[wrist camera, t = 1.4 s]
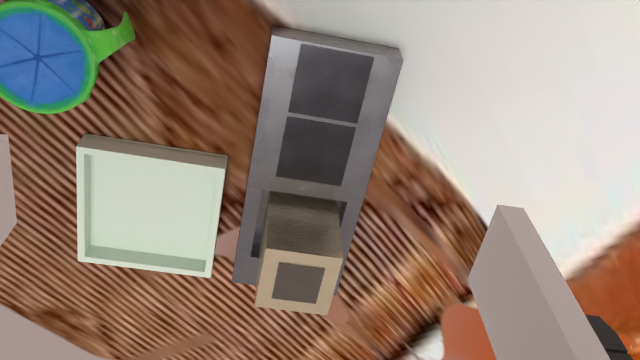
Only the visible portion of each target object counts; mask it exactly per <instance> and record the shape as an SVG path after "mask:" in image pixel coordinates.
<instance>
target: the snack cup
mask: <svg viewBox="0 0 640 360" xmlns="http://www.w3.org/2000/svg"><path fill="white" fill-rule="evenodd" d="M134 39H135V33H134V29H133V27H132V24H131V22H130V19H129V17H128V14H127V12H123V17H122V20H121V23H120V24H119V26H117V27H114V28H109V29H106V30H105V26H104V22H103V20H102V17H101V16H100V15H99V14H98V13H97V11H96V10H95V9H94V8H93V6H92V5H90V4H89V3H88V2H87V1H85V0H9V1H6V2H3V3H1V4H0V96H1V97H2V98H4V99H5V100H6V101H8V102H10V103H11V104H13V105H15V106H17V107H20V108H22V109H25V110H27V111H30V112H35V113H44V114H53V113H60V112H64V111H67V110H69V109H71V108H73V107H75V106H77V105H78V104H80V103H83V102H85V101H86V100H87V99H88V98H89V97H90V94H91V90H92V88H93V87H94V85H95V83H96V80H97V76H98V70H99V63H100V62H101V61H102V60H104V59H105V58H107V57H108V56H109V55H111V54H112V53H114V52H115V51H117V50H118V49H120V48H121V47H122V46H124V45H125V44H127V43H128V42H130V41H132V40H134Z"/></svg>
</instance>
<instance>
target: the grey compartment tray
mask: <svg viewBox="0 0 640 360" xmlns="http://www.w3.org/2000/svg"><path fill="white" fill-rule="evenodd" d="M402 63H403V58H402V56H401V54H400V51H399V49H397V48H392V47H386V46H381V45H376V44H370V43H365V42H360V41H354V40H349V39H344V38H338V37H333V36H328V35H322V34H317V33H312V32H306V31H301V30H296V29H290V28H285V27H280V26H274V25H273V27H272V34H271V40H270V46H269V52H268V58H267V65H266V71H265V77H264V83H263V89H262V95H261V102H260V108H259V114H258V120H257V126H256V132H255V139H254V145H253V151H252V157H251V163H250V170H249V176H248V182H247V188H246V194H245V200H244V207H243V213H242V219H241V225H240V231H239V237H238V244H237V250H236V256H235V262H234V269H233V276H232V282H235V283H243V284H250V285H256V283H257V271H258V259H259V247H260V237H261V232H262V226H263V221H264V215H265V210H266V205H267V199H268V194H269V190H270V191H277V192H283V193H290V194H297V195H304V196H310V197H317V198H324V199H330V200H337V205H338V214H339V224H340V233H341V242H342V252H343V262H342V265H341V269H340V272H339V276H338V279H337V283H336V286H335V290H334V293H333V295H336V293H337V290H338V286H339V283H340V279H341V276H342V272H343V269H344V265H345V262H346V258H347V255H348V251H349V248H350V244H351V241H352V237H353V234H354V230H355V227H356V223H357V220H358V216H359V213H360V209H361V206H362V202H363V199H364V195H365V192H366V188H367V185H368V181H369V178H370V174H371V171H372V167H373V164H374V160H375V157H376V153H377V150H378V146H379V143H380V139H381V136H382V132H383V129H384V125H385V122H386V118H387V115H388V111H389V108H390V104H391V101H392V97H393V94H394V91H395V87H396V84H397V80H398V77H399V73H400V70H401V66H402Z"/></svg>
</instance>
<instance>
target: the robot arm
mask: <svg viewBox="0 0 640 360" xmlns="http://www.w3.org/2000/svg"><path fill="white" fill-rule="evenodd" d="M16 223H17V219H16V209H15V199H14V189H13V179H12V169H11V159H10V149H9V139H8V135H3V134H0V246H1V244H2V243H3V242H4V240H5V239H6V237H7V236H8V234H9V233H10V232H11V230H12V229H13V227H14V226H15V225H16ZM468 282H469V285H470V287H471V290H472V293H473V296H474V298H475V301H476V304H477V307H478V309H479V312H480V315H481V318H482V320H483V323H484V326H485V328H486V331H487V334H488V337H489V340H490V342H491V345H492V348H493V351H494V353H495V356H496V359H497V360H633V359H632V357H631V356H630V355H629V354H627V349H626V348H625V346H624V345H623V343H622V341H621V340H620V338H619V336H618V335H617V333H616V332H615V331H614V330H613V329H612V328H611V327H609V326H608V325H607V324H606V323H605V322H604V321H603V320H602V319H601V318H600V317H599V316H591V315H585V314H584V313H583V311H582V309H581V308H580V306H579V304H578V302H577V301H576V299H575V297H574V295H573V294H572V292H571V290H570V288H569V287H568V285H567V283H566V281H565V280H564V278H563V276H562V274H561V273H560V271H559V269H558V268H557V266H556V264H555V262H554V261H553V259H552V257H551V255H550V254H549V252H548V250H547V248H546V247H545V245H544V243H543V241H542V240H541V238H540V236H539V234H538V233H537V231H536V229H535V228H534V226H533V224H532V222H531V221H530V219H529V217H528V215H527V214H526V212H525V210H524V208H518V207H511V206H504V205H497V208H496V210H495V213H494V215H493V217H492V220H491V222H490V225H489V227H488V230H487V232H486V235H485V237H484V240H483V242H482V245H481V247H480V250H479V252H478V255H477V257H476V260H475V262H474V265H473V267H472V270H471V272H470V275H469V277H468Z"/></svg>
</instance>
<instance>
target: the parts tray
mask: <svg viewBox="0 0 640 360" xmlns="http://www.w3.org/2000/svg"><path fill="white" fill-rule="evenodd" d="M227 160H228V156H227V155H221V154H214V153H208V152H201V151H195V150H188V149H182V148H176V147H169V146H163V145H156V144H150V143H144V142H137V141H131V140H124V139H118V138H112V137H105V136H99V135H92V134H86V133H85V134H84V136H83V137H82V139H81V140H80V142H79V143H78V145H77V146H76V163H77V236H78V261H82V262H90V263H97V264H105V265H113V266H121V267H129V268H137V269H144V270H152V271H160V272H168V273H176V274H183V275H191V276H199V277H207V278H211V273H212V267H213V262H214V254H215V247H216V240H217V233H218V226H219V218H220V211H221V204H222V197H223V189H224V182H225V175H226V168H227Z"/></svg>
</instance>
